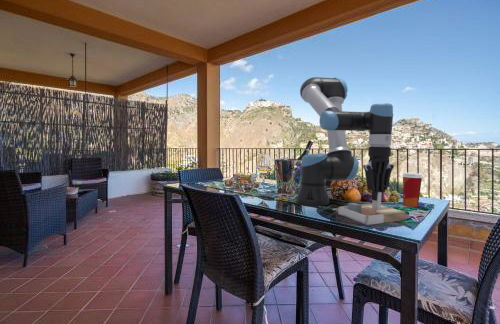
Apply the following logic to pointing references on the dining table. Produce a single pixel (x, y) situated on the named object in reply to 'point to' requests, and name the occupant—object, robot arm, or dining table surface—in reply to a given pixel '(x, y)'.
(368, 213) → the tan block
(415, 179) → the coffee cup
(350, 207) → the tile grey
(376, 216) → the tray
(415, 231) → the dining table surface
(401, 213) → the board
